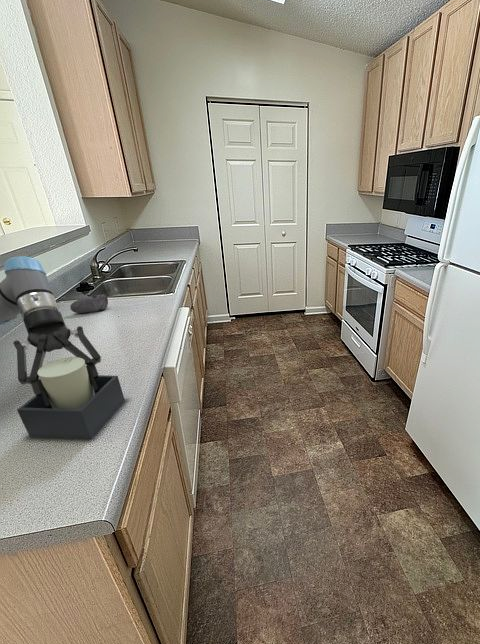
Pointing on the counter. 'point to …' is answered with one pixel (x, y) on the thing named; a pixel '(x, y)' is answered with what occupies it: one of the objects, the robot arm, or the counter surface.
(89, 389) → the can
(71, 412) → the open box
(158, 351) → the counter surface
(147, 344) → the counter surface
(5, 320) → the robot arm
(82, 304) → the perforated stone tool
